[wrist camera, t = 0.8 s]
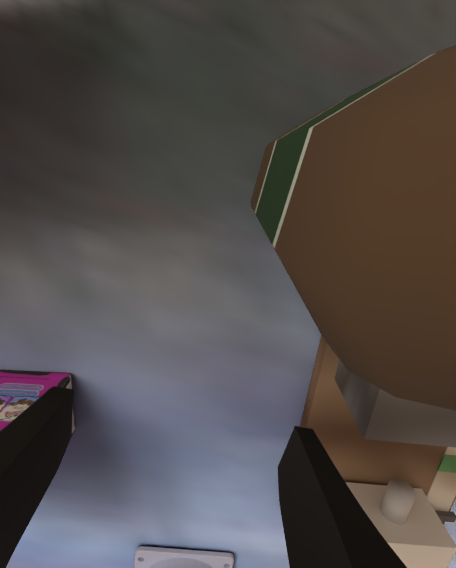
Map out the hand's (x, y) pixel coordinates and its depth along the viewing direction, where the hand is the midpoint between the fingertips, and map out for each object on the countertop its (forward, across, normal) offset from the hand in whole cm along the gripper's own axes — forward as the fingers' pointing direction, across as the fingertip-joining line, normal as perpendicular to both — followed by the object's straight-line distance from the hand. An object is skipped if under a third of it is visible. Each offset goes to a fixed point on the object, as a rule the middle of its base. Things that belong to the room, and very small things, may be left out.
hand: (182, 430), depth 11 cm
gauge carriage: (+8, -16, +12) cm, 22 cm away
